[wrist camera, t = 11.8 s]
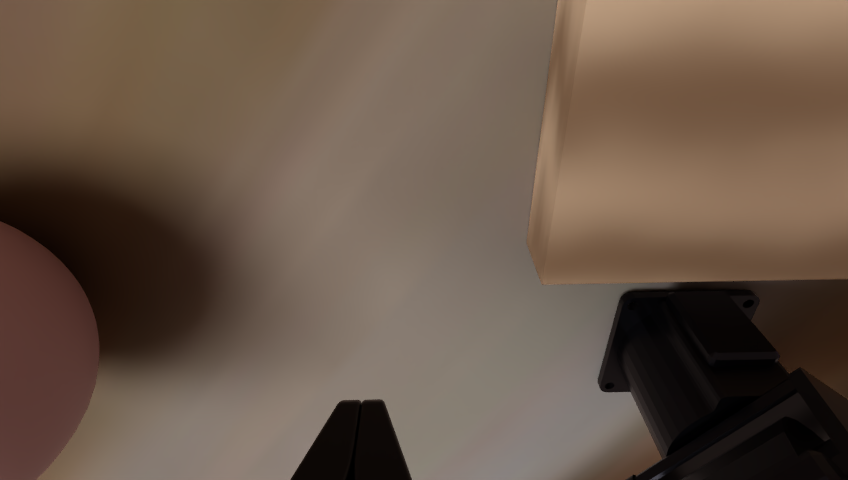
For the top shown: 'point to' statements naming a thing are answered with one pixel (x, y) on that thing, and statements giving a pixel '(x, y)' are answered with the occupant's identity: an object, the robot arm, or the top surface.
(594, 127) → the thick wooden platform
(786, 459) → the robot arm
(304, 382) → the top surface
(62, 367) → the mortar and pestle
